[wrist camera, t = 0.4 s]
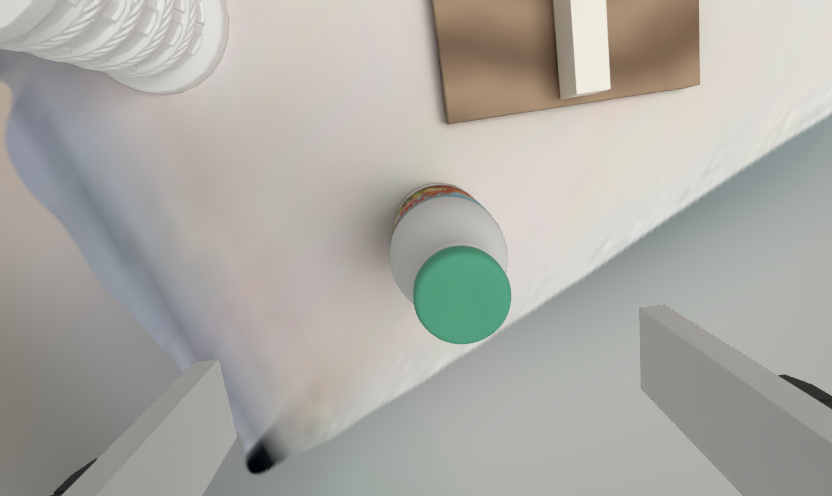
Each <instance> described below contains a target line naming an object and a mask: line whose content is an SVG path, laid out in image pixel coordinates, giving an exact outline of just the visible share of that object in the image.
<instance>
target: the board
mask: <svg viewBox="0 0 832 496" xmlns="http://www.w3.org/2000/svg"><path fill="white" fill-rule="evenodd" d="M432 7H433V15H434V22H435V30H436V38H437V46H438V53H439V61H440V69H441V77H442V85H443V92H444V100H445V108H446V116H447V123H448V124H453V123H459V122H466V121H473V120H479V119H486V118H492V117H499V116H505V115H512V114H518V113H525V112H531V111H538V110H545V109H551V108H558V107H564V106H571V105H577V104H584V103H590V102H597V101H603V100H610V99H617V98H623V97H630V96H636V95H643V94H649V93H656V92H662V91H669V90H675V89H682V88H687V87H692V86H697V85H700V66H699V0H606V9H607V28H608V47H609V67H610V86H611V89H609V90H606V91H602V92H599V93H595V94H592V95H586V96H579V97H572V98H566V99H560V86H559V73H558V60H557V46H556V33H555V20H554V6H553V0H432Z"/></svg>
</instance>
